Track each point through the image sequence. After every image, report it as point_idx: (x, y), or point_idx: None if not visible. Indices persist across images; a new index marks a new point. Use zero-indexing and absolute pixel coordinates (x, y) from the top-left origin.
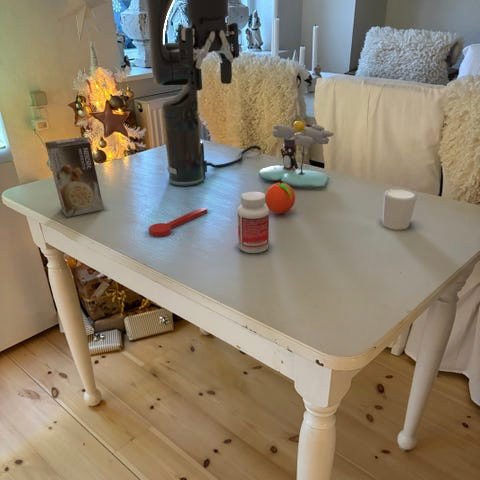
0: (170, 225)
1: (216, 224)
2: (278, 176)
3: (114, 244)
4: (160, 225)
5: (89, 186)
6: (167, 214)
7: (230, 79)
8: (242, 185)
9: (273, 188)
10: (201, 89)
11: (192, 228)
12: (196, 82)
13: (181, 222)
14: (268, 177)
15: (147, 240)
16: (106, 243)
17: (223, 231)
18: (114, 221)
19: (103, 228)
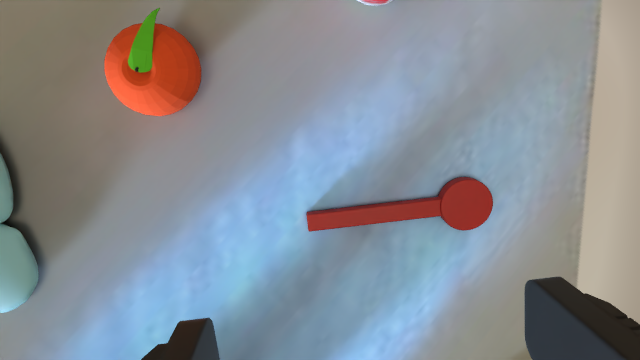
0: (438, 199)
1: (341, 140)
2: (2, 233)
3: (566, 224)
4: (459, 212)
5: None
6: (382, 272)
7: (183, 330)
8: (109, 286)
9: (170, 74)
10: (530, 281)
11: (397, 165)
12: (609, 311)
13: (401, 202)
14: (28, 254)
15: (508, 189)
16: (573, 240)
17: (358, 95)
18: (488, 323)
19: None
